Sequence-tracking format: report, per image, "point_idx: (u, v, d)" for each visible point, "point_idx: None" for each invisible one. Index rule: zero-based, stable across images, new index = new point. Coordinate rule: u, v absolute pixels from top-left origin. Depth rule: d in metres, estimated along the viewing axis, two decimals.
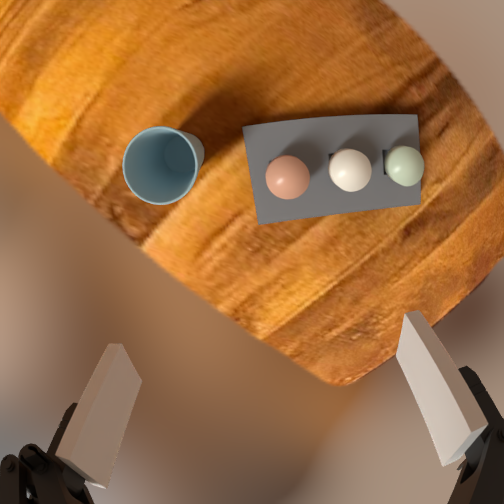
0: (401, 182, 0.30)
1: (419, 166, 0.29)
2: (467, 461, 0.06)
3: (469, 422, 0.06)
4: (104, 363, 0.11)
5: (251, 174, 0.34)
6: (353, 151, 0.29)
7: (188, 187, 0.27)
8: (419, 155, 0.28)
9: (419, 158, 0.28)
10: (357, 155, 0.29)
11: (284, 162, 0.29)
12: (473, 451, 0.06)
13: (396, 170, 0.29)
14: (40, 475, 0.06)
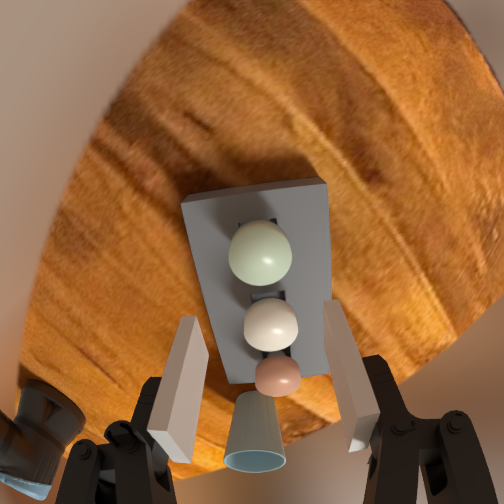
0: (285, 266, 0.22)
1: (257, 237, 0.21)
2: (371, 456, 0.08)
3: (359, 407, 0.08)
4: (182, 334, 0.13)
5: None
6: (245, 332, 0.24)
7: (274, 453, 0.28)
8: (238, 239, 0.21)
9: (244, 239, 0.21)
10: (250, 327, 0.24)
11: (261, 386, 0.28)
12: (373, 440, 0.08)
13: (267, 276, 0.22)
14: (125, 454, 0.07)
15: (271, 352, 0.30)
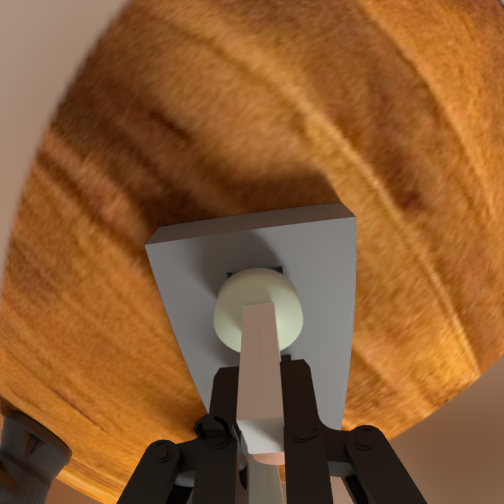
0: (293, 333, 0.15)
1: (254, 298, 0.14)
2: None
3: (264, 409, 0.09)
4: (249, 322, 0.13)
5: None
6: None
7: None
8: (226, 299, 0.14)
9: (235, 299, 0.14)
10: None
11: (259, 457, 0.20)
12: None
13: None
14: (211, 449, 0.07)
15: None
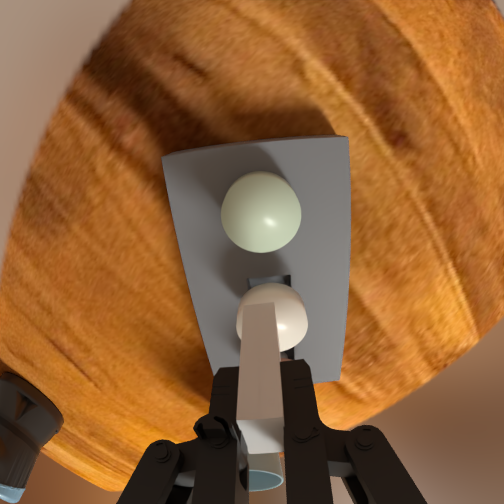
0: (292, 228, 0.17)
1: (258, 188, 0.16)
2: None
3: (264, 409, 0.09)
4: (249, 322, 0.13)
5: None
6: (238, 326, 0.19)
7: (270, 472, 0.23)
8: (234, 189, 0.16)
9: (241, 189, 0.16)
10: None
11: None
12: None
13: (269, 240, 0.17)
14: (211, 449, 0.07)
15: None
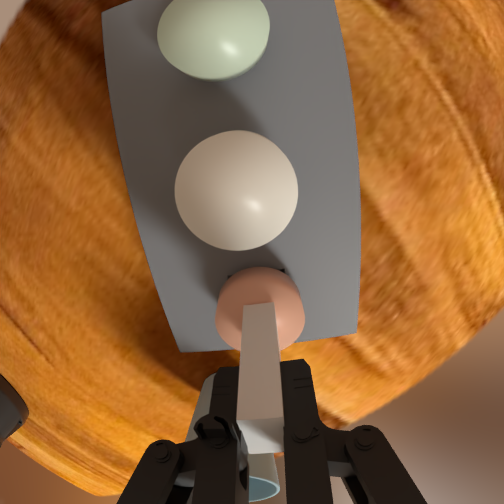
0: (258, 38, 0.09)
1: None
2: None
3: (264, 409, 0.09)
4: (249, 322, 0.13)
5: None
6: (179, 194, 0.11)
7: None
8: (176, 1, 0.08)
9: (185, 0, 0.08)
10: (187, 180, 0.11)
11: (227, 328, 0.15)
12: None
13: (225, 57, 0.10)
14: (212, 449, 0.07)
15: None
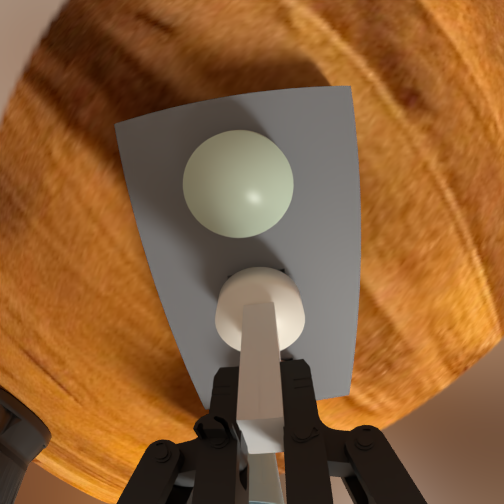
0: (282, 201, 0.12)
1: (232, 147, 0.11)
2: None
3: (264, 409, 0.09)
4: (249, 322, 0.13)
5: None
6: (218, 322, 0.15)
7: (269, 502, 0.17)
8: (199, 151, 0.11)
9: (208, 150, 0.11)
10: (224, 314, 0.15)
11: None
12: None
13: (251, 220, 0.13)
14: (211, 449, 0.07)
15: None
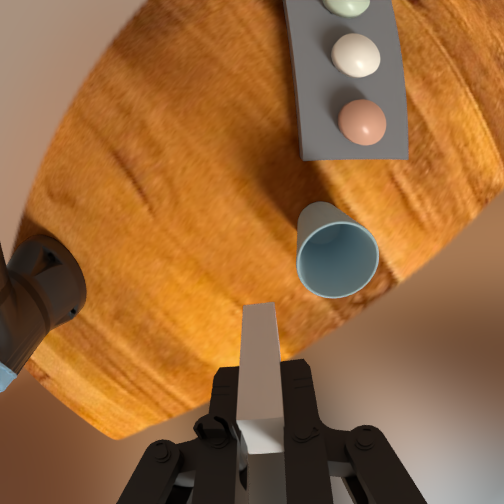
0: (365, 3, 0.19)
1: None
2: None
3: (264, 409, 0.09)
4: (249, 322, 0.13)
5: (356, 157, 0.28)
6: (336, 50, 0.22)
7: (368, 234, 0.24)
8: None
9: None
10: (340, 45, 0.22)
11: (348, 123, 0.25)
12: None
13: (353, 7, 0.19)
14: (211, 449, 0.07)
15: None
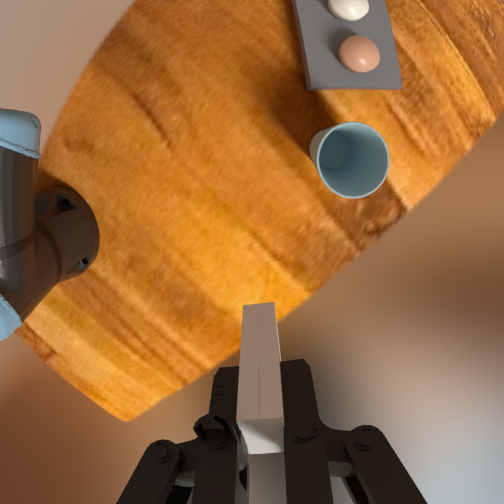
0: None
1: None
2: None
3: (264, 409, 0.09)
4: (249, 322, 0.13)
5: (357, 85, 0.29)
6: None
7: (377, 135, 0.25)
8: None
9: None
10: None
11: (347, 53, 0.26)
12: None
13: None
14: (211, 449, 0.07)
15: None
